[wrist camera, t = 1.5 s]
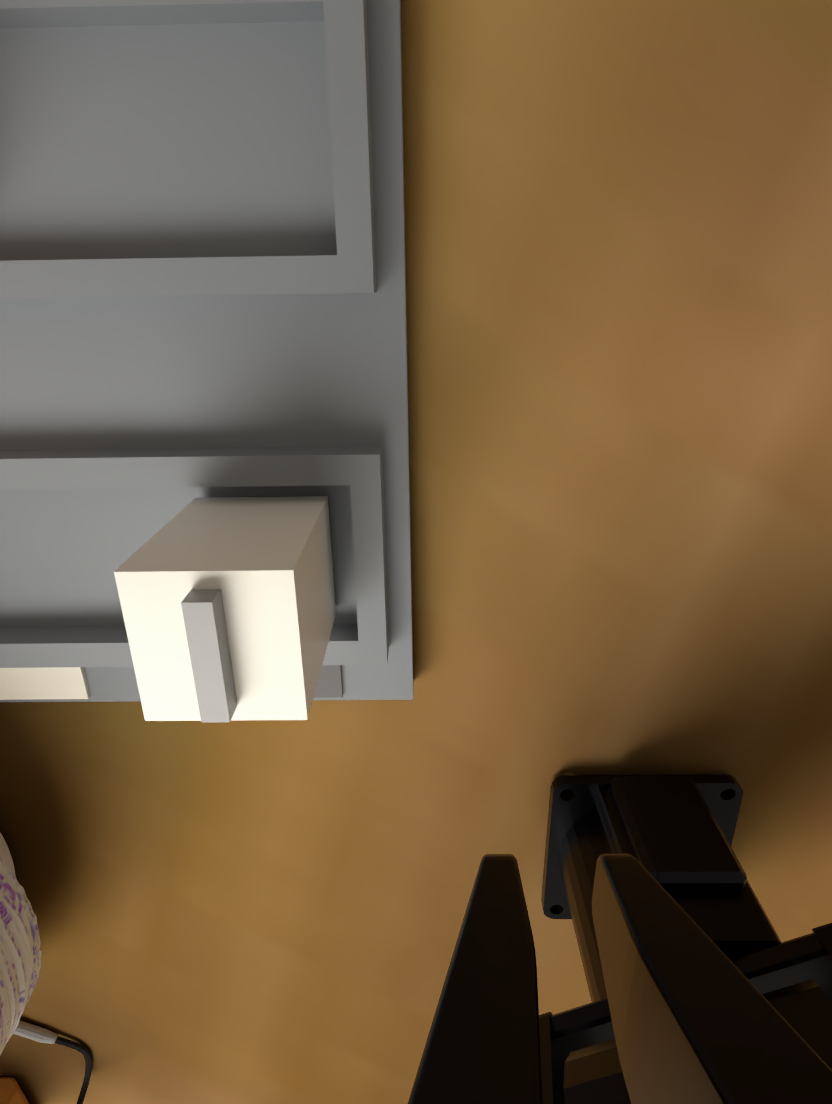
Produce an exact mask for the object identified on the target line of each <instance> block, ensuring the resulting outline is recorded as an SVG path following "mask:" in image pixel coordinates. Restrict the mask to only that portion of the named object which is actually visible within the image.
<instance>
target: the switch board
mask: <svg viewBox="0 0 832 1104" xmlns="http://www.w3.org/2000/svg"><path fill="white" fill-rule="evenodd" d="M298 496H328V506H329V521H330V535H331V550H332V564H333V579H334V593H335V608H336V616H335V620H334V623H333V627H332V631H331V634H330V638H329V642H328V646H327V649H326V653H325V657H324V660H323V664H322V668H321V672H320V675H319V679H318V683H317V686H316V690H315V694H314V698H313V700H413V632H412V578H411V525H410V472H409V419H408V366H407V313H406V260H405V207H404V154H403V101H402V47H401V0H0V702H116V701H141V699H140V694H139V690H138V685H137V680H136V675H135V670H134V666H133V661H132V656H131V651H130V647H129V642H128V637H127V632H126V628H125V623H124V618H123V613H122V608H121V604H120V599H119V594H118V589H117V585H116V580H115V575H114V571H115V570H117V569H118V568H119V567H120V566H121V565H122V564H123V563H124V562H125V561H126V560H128V559H129V558H130V557H131V556H132V555H133V554H134V553H135V552H136V551H138V550H139V549H140V548H141V547H142V546H143V545H144V544H145V543H146V542H147V541H149V540H150V539H151V538H152V537H153V536H154V535H155V534H156V533H157V532H158V531H160V530H161V529H162V528H163V527H164V526H165V525H166V524H167V523H168V522H170V521H171V520H172V519H173V518H174V517H175V516H176V515H177V514H178V513H179V512H181V511H182V510H183V509H184V508H185V507H186V506H187V505H188V504H189V503H190V502H192V501H193V500H194V499H195V498H208V497H298Z"/></svg>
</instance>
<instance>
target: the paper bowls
mask: <svg viewBox="0 0 832 1104" xmlns="http://www.w3.org/2000/svg"><path fill="white" fill-rule="evenodd" d="M40 945H41V941H40V936H39V929H38V924H37V916H36V915H35V913H34V912H33V910H32V906H31V903H30V901H29V900H28V899H27V897H26V894H25V890H24V888H23V887H22V886H21V885H20V884H19V883H18V881H17V879H16V875H15V869H14V864H13V860H12V857H11V854H10V851H9V848H8V846H7V844H6V842H5V840H4V838H3V836H2V834H1V833H0V1055H1V1053H2V1051H3V1049H4V1048H5V1046H6V1044H7V1042H8V1041H9V1039H10V1037H11V1036H12V1034H13V1033H14V1031H15V1029H16V1027H17V1026H18V1023H19V1020H20V1017H21V1016H22V1014H23V1012H24V1010H25V1007H26V1005H27V1002H28V1000H29V998H30V996H31V994H32V992H33V990H34V988H35V986H36V982H37V980H38V978H39V970H40V968H41V960H40V958H41V956H42V951H40Z"/></svg>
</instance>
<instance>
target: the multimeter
mask: <svg viewBox="0 0 832 1104" xmlns="http://www.w3.org/2000/svg"><path fill="white" fill-rule="evenodd" d="M13 1034H15V1035H18V1036H22V1037H25V1038H28V1039H31V1040H34V1041H37V1042H40V1043H48V1044H54V1043H57V1044H61V1045H64V1046H67V1047H70V1048H73V1049H76V1050H77V1051H79V1052H81V1053H82V1054H83V1055H84V1057H85V1061H86V1069H85V1076H84V1081H83V1085H82V1088H81V1092H80V1095H79V1098H78V1101H77V1104H83V1101H84V1098H85V1094H86V1091H87V1088H88V1084H89V1080H90V1076H91V1069H92V1057H91V1053H90V1051H89V1050H88V1049H87V1048H86V1047H85V1046H83V1045H81V1044H79V1043H77V1042H74V1041H71V1040H68V1039H65V1038H61V1037H58V1035H57V1034H55V1033H54V1032H52V1031H50V1030H48V1029H45V1028H42V1027H39V1026H36V1025H33V1024H30V1023H27V1022H24V1021H20V1020H19V1023H18V1026H17V1027H16V1029H15V1031H14V1033H13ZM0 1104H29V1103H28V1101H27V1099H26V1097H25V1096H24V1094H23V1092H22V1090H21V1088H20V1087H19V1085H18V1083H17V1081H16V1080H15V1079H14V1078H9V1077H0Z"/></svg>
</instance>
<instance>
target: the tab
mask: <svg viewBox="0 0 832 1104" xmlns="http://www.w3.org/2000/svg"><path fill="white" fill-rule="evenodd" d="M114 575H115V580H116V585H117V589H118V594H119V599H120V604H121V608H122V613H123V618H124V623H125V628H126V632H127V637H128V642H129V647H130V651H131V656H132V661H133V666H134V670H135V675H136V680H137V685H138V690H139V694H140V699H141V704H142V709H143V713H144V718H145V721H201V722H230V721H231V720H308V716H309V713H310V709H311V705H312V701H313V698H314V694H315V690H316V686H317V683H318V679H319V675H320V672H321V668H322V664H323V660H324V657H325V653H326V649H327V646H328V642H329V638H330V634H331V631H332V627H333V623H334V620H335V616H336V608H335V593H334V579H333V564H332V550H331V535H330V521H329V506H328V496H298V497H208V498H195V499H194V500H193V501H192V502H190V503H189V504H188V505H187V506H186V507H185V508H184V509H183V510H182V511H181V512H179V513H178V514H177V515H176V516H175V517H174V518H173V519H172V520H171V521H170V522H168V523H167V524H166V525H165V526H164V527H163V528H162V529H161V530H160V531H158V532H157V533H156V534H155V535H154V536H153V537H152V538H151V539H150V540H149V541H147V542H146V543H145V544H144V545H143V546H142V547H141V548H140V549H139V550H138V551H136V552H135V553H134V554H133V555H132V556H131V557H130V558H129V559H128V560H126V561H125V562H124V563H123V564H122V565H121V566H120V567H119V568H118V569H117V570H115V571H114Z"/></svg>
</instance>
